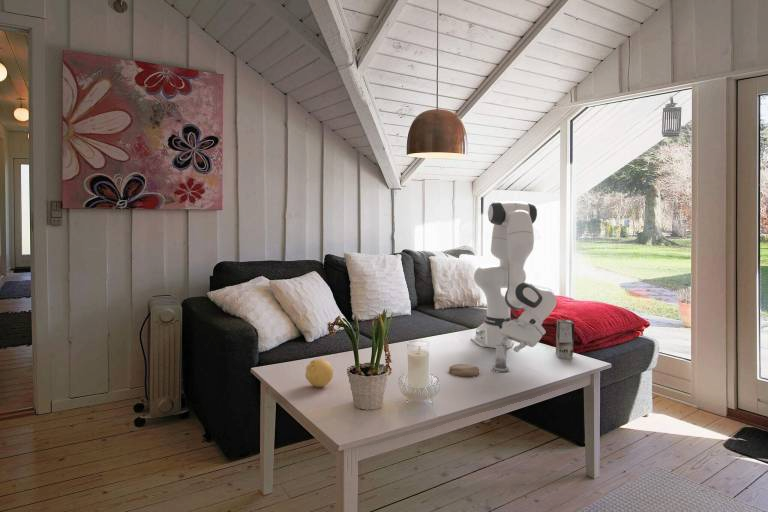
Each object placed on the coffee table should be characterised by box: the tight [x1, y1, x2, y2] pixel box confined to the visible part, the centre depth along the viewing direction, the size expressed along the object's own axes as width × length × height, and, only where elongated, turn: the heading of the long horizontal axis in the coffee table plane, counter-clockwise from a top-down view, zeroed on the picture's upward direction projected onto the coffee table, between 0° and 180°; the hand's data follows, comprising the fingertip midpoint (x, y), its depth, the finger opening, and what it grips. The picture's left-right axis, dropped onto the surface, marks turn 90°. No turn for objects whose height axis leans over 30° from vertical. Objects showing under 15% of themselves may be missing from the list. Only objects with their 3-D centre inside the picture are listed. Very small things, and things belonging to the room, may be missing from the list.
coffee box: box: [555, 319, 575, 360], centre depth 230 cm, size 9×6×16 cm
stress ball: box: [305, 358, 334, 389], centre depth 184 cm, size 10×10×10 cm
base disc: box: [448, 363, 480, 378], centre depth 204 cm, size 12×12×2 cm
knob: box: [492, 345, 510, 373], centre depth 208 cm, size 6×6×10 cm
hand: (508, 348), depth 208 cm, fingers open, 8 cm apart
